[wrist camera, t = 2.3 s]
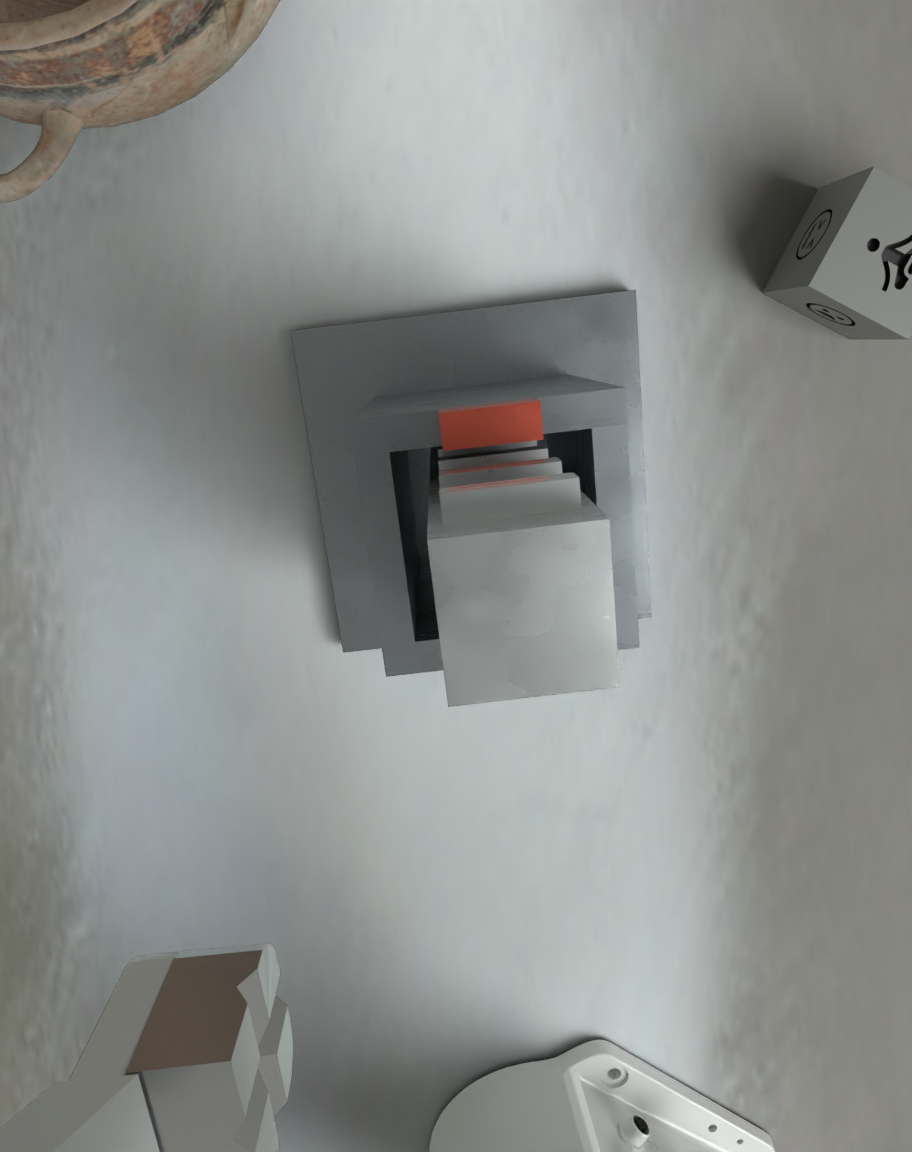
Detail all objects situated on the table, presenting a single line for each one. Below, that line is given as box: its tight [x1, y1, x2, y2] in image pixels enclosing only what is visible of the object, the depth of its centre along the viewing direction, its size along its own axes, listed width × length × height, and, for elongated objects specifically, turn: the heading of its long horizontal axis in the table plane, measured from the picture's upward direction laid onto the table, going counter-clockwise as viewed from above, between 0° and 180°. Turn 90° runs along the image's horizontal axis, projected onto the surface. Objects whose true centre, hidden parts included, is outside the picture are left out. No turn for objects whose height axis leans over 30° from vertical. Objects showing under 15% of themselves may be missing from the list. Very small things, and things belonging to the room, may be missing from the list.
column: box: [427, 440, 620, 707], centre depth 29 cm, size 4×5×20 cm
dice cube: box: [762, 166, 912, 339], centre depth 36 cm, size 5×5×5 cm
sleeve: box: [291, 290, 652, 677], centre depth 33 cm, size 16×16×14 cm
